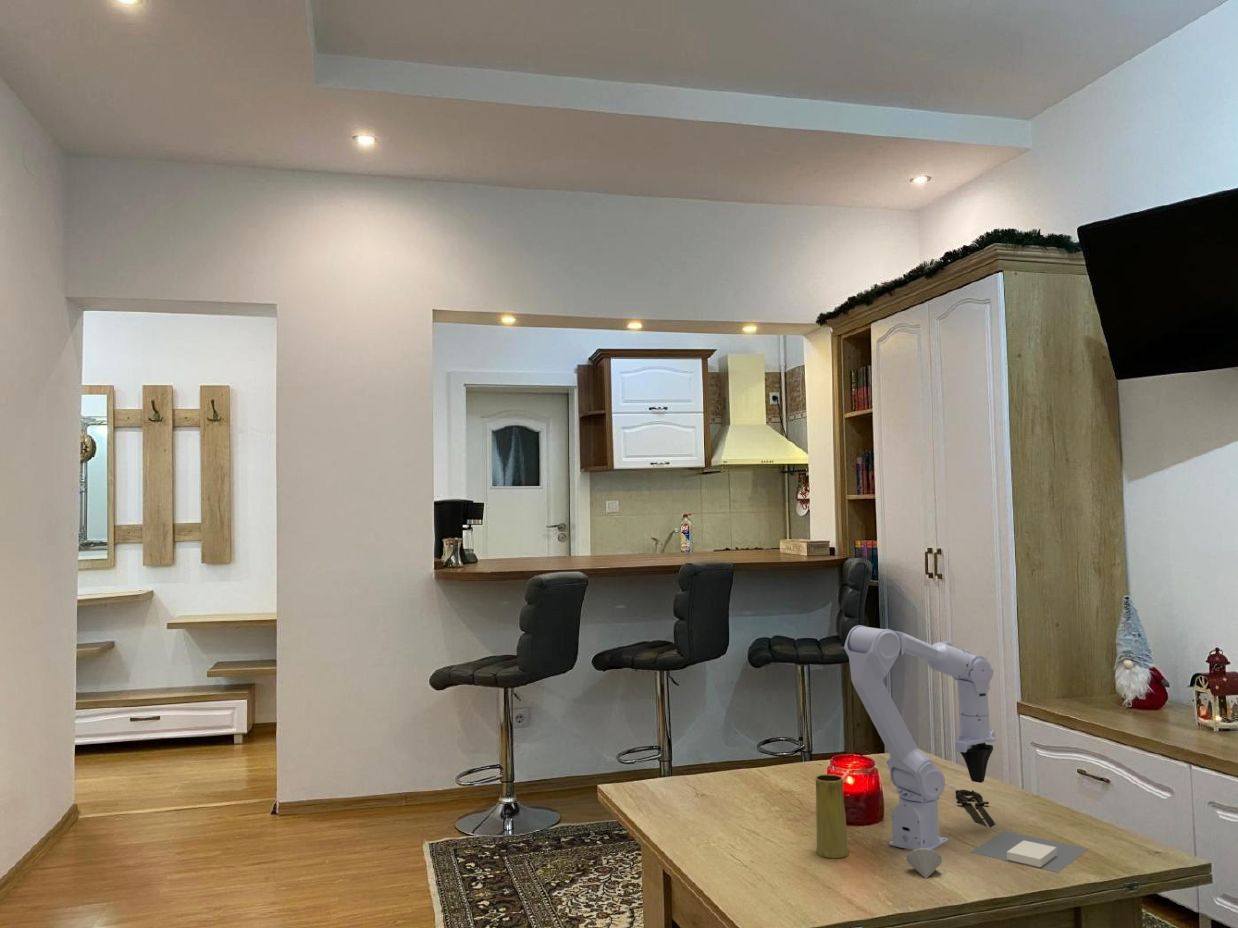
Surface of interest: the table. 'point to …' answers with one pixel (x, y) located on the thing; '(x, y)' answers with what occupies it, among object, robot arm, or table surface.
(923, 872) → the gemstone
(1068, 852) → the mat
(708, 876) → the table surface
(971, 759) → the robot arm
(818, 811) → the vase
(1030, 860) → the tile
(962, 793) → the dark ornate flat tool
